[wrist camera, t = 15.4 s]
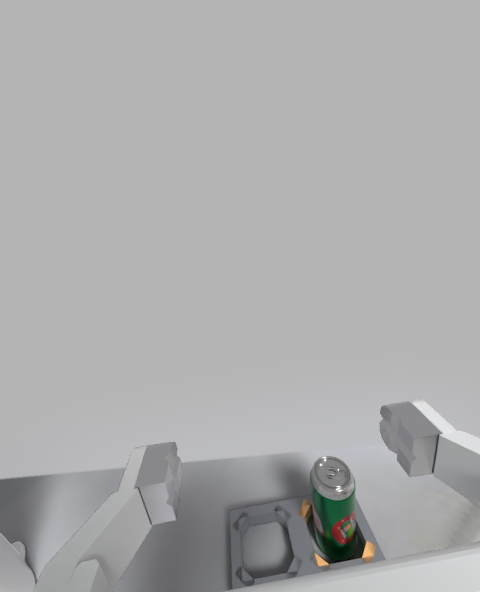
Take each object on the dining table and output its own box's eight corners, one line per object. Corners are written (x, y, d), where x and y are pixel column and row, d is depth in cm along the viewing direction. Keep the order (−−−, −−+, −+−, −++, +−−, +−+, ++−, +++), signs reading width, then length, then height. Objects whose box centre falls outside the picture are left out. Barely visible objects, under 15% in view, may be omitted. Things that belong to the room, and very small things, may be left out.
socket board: (235, 609, 29) (232, 598, 29) (231, 519, 38) (229, 510, 37) (388, 578, 30) (389, 567, 29) (350, 497, 38) (350, 487, 38)
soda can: (314, 514, 37) (309, 451, 33) (352, 520, 36) (351, 455, 32) (315, 559, 32) (309, 491, 29) (359, 567, 31) (359, 497, 27)
